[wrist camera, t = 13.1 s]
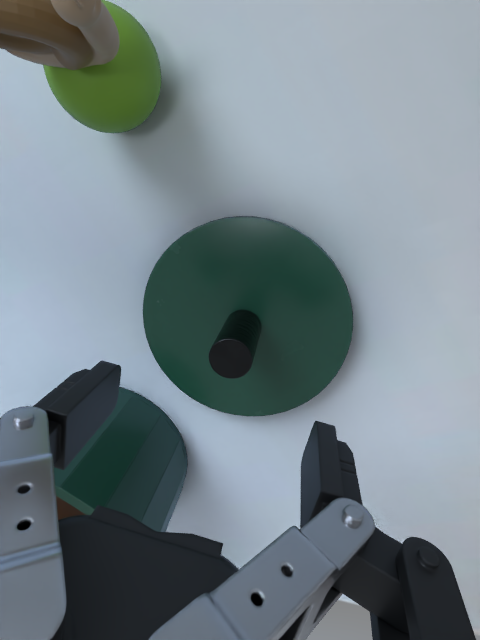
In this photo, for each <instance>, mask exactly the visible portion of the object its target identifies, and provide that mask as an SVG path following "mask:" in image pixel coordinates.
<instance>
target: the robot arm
mask: <svg viewBox="0 0 480 640" xmlns="http://www.w3.org/2000/svg"><path fill="white" fill-rule="evenodd" d="M120 376H121V367H120V366H119V365H116V364H112V363H109V362H105V361H100V362H99V363H98V364H97V365H96V366H94V367H93V368H92V369H91V370H88V369H84V370H81V371H78V372H76V373H73V374H72V375H71V376H69V377H68V378H67V379H66V380H65V381H64V382H62V383H61V384H60V385H59V386H57V388H55V389H54V390H52V391H51V392H50V393H49V394H48V395H46V396H45V397H44V398H43V399H41V400H40V401H39V402H38V403H37V404H35V405H34V406H33V407H31V406H26V407H19V408H15V409H12V410H10V411H8V412H6V413H5V414H4V415H3V416H2V417H1V418H0V640H306V639H307V637H308V636H309V634H310V633H311V632H312V630H313V629H314V628H315V627H316V626H317V624H318V623H319V622H320V621H321V620H322V618H323V617H324V616H325V615H326V613H327V612H328V611H329V610H330V609H331V607H332V606H333V605H334V604H335V602H336V601H337V600H338V599H339V598H340V596H341V595H342V594H344V595H346V596H347V597H349V598H350V599H352V600H353V601H355V602H356V603H358V604H359V605H361V606H362V607H364V608H365V609H367V610H368V611H370V616H371V627H372V637H373V640H476V638H475V635H474V632H473V629H472V626H471V623H470V620H469V617H468V614H467V611H466V608H465V605H464V602H463V599H462V596H461V593H460V590H459V587H458V584H457V581H456V578H455V575H454V572H453V569H452V566H451V564H450V562H449V561H448V559H447V558H446V556H445V555H444V554H443V553H442V552H441V551H440V550H439V549H438V548H437V547H436V546H434V545H433V544H431V543H430V542H428V541H426V540H424V539H421V538H417V537H410V538H407V539H406V540H405V541H404V542H403V544H402V543H400V542H398V541H396V540H395V539H393V538H391V537H389V536H388V535H386V534H384V533H383V532H381V531H380V530H379V529H377V528H376V527H375V523H374V520H373V517H372V516H371V514H370V513H369V511H368V510H367V509H366V508H365V507H364V506H363V505H362V500H361V495H360V489H359V484H358V478H357V475H356V468H355V462H354V457H353V453H352V451H351V450H350V448H349V447H348V445H347V444H346V443H345V442H341V441H338V440H337V437H336V429H335V426H333V425H329V424H326V423H322V422H318V421H315V423H314V425H313V428H312V430H311V433H310V436H309V439H308V442H307V444H306V447H305V450H304V453H303V457H302V462H301V523H300V529H298V528H297V527H296V526H292V527H290V528H289V529H288V530H287V531H285V532H284V533H283V534H282V535H280V536H279V537H278V538H277V539H276V540H274V541H273V542H272V543H271V544H270V545H268V546H267V547H266V548H265V549H264V550H262V551H261V552H260V553H259V554H257V555H256V556H255V557H254V558H253V559H251V560H250V561H249V562H248V563H247V564H245V565H244V566H243V567H242V568H241V569H238V568H237V567H236V566H235V565H234V564H233V563H231V562H230V561H229V560H228V559H226V558H225V557H223V556H222V555H221V551H222V546H223V543H220V542H217V541H213V540H210V539H207V538H204V537H200V536H197V535H194V534H187V533H169V532H157V531H154V530H153V529H151V528H149V527H148V526H146V525H145V524H143V523H141V522H140V521H138V520H137V519H135V518H133V517H132V516H130V515H129V514H126V513H123V512H119V511H116V510H113V509H110V508H107V507H103V506H100V505H97V506H96V508H95V510H94V511H93V513H92V514H91V515H77V516H71V517H67V518H63V519H60V520H58V512H57V500H56V488H55V477H54V467H55V468H58V469H61V470H65V468H66V467H67V466H68V465H69V464H70V462H71V461H72V460H73V459H74V458H75V456H76V455H77V454H78V453H79V452H80V450H81V449H82V448H83V447H84V446H85V444H86V443H87V442H88V441H89V440H90V438H91V437H92V436H93V435H94V434H95V433H96V431H97V430H98V429H99V428H100V427H101V425H102V424H103V423H104V422H105V421H106V419H107V418H108V417H109V416H110V415H111V413H112V412H113V410H114V409H115V406H116V404H117V401H118V394H119V385H120Z"/></svg>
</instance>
